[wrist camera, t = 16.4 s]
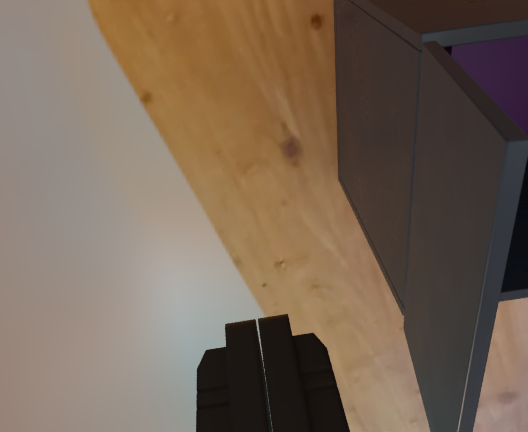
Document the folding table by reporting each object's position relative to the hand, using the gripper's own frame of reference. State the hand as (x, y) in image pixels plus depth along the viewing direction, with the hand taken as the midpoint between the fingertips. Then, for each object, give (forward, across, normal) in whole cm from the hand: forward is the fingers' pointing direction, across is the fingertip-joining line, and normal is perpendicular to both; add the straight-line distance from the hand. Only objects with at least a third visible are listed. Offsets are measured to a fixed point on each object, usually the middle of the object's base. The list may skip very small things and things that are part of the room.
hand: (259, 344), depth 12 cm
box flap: (+2, -5, 0) cm, 6 cm away
